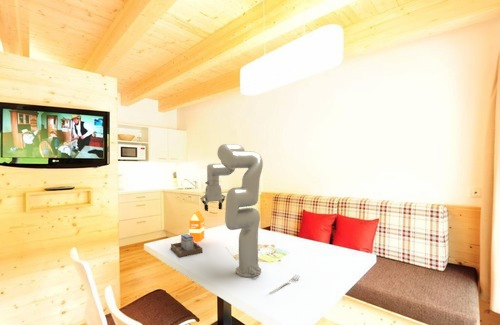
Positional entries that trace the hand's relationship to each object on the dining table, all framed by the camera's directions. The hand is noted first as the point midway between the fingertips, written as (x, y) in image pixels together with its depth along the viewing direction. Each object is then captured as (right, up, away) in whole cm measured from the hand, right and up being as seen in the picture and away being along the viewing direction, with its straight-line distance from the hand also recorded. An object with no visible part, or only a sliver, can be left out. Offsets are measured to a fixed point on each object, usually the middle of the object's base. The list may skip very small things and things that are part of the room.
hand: (213, 210), depth 163 cm
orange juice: (-14, -25, +18) cm, 34 cm away
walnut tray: (-16, -24, -6) cm, 30 cm away
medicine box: (-16, -24, -6) cm, 29 cm away
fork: (+38, -24, -52) cm, 69 cm away
